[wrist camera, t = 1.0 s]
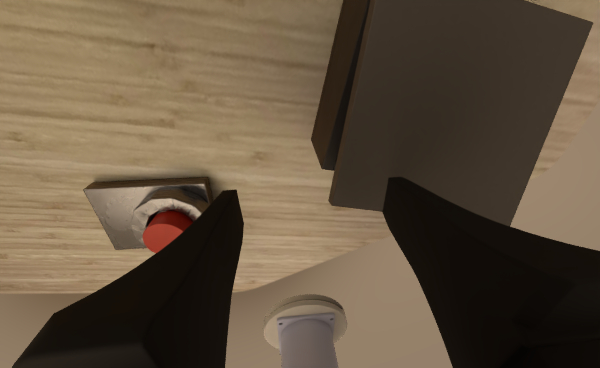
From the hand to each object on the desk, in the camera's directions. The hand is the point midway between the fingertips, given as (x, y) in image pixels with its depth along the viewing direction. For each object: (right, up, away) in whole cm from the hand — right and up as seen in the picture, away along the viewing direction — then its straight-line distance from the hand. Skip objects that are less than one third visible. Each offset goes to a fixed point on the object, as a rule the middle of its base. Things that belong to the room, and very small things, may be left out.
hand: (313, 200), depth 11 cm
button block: (-14, -2, +12) cm, 18 cm away
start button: (-12, -3, +10) cm, 16 cm away
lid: (+8, +5, +2) cm, 9 cm away
